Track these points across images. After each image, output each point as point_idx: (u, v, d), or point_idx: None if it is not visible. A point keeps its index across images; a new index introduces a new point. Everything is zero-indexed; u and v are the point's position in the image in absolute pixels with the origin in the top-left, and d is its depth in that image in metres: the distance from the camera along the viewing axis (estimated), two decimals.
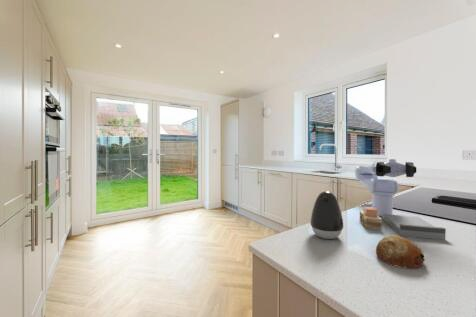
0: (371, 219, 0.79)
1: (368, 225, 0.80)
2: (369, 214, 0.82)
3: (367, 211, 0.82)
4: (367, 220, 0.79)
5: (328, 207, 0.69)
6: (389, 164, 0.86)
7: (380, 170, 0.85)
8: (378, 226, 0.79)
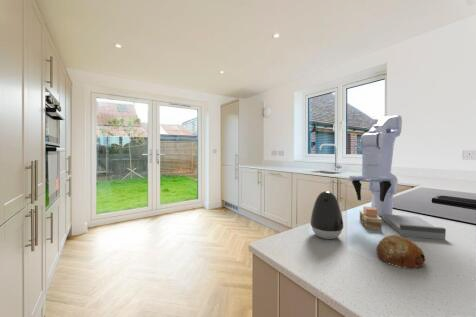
0: (371, 219, 0.79)
1: (368, 225, 0.80)
2: (369, 214, 0.82)
3: (367, 211, 0.82)
4: (367, 220, 0.79)
5: (328, 207, 0.69)
6: None
7: None
8: (378, 226, 0.79)
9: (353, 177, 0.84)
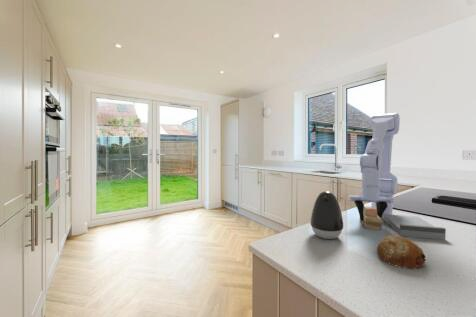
0: (371, 219, 0.79)
1: (368, 225, 0.80)
2: (369, 214, 0.82)
3: (367, 211, 0.82)
4: (367, 220, 0.79)
5: (328, 207, 0.69)
6: None
7: None
8: (378, 226, 0.79)
9: (353, 197, 0.84)
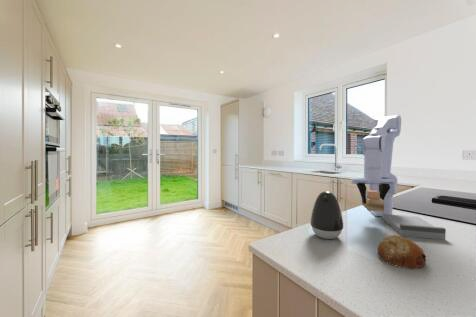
0: (374, 201, 0.78)
1: (371, 207, 0.79)
2: (371, 197, 0.81)
3: (369, 194, 0.81)
4: (370, 202, 0.79)
5: (328, 207, 0.69)
6: None
7: None
8: (381, 208, 0.78)
9: (355, 180, 0.83)
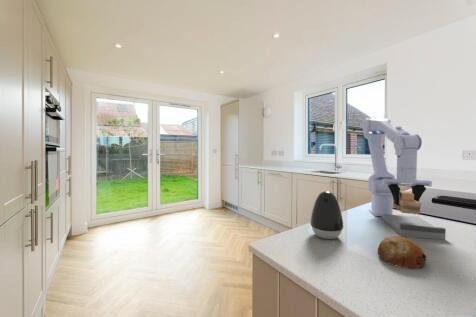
0: (409, 203, 0.75)
1: (405, 209, 0.76)
2: (405, 198, 0.78)
3: (403, 195, 0.78)
4: (405, 204, 0.76)
5: (328, 207, 0.69)
6: None
7: None
8: (417, 211, 0.75)
9: (387, 181, 0.80)
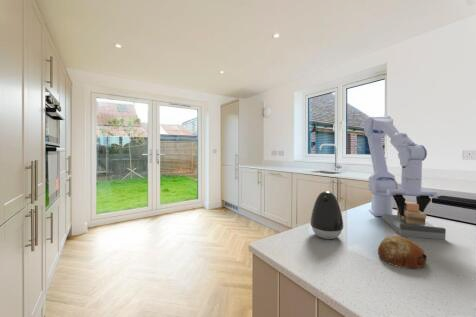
0: (414, 214, 0.75)
1: (411, 220, 0.76)
2: (410, 209, 0.78)
3: (408, 206, 0.78)
4: (410, 215, 0.75)
5: (328, 207, 0.69)
6: None
7: None
8: (422, 222, 0.75)
9: (392, 191, 0.80)
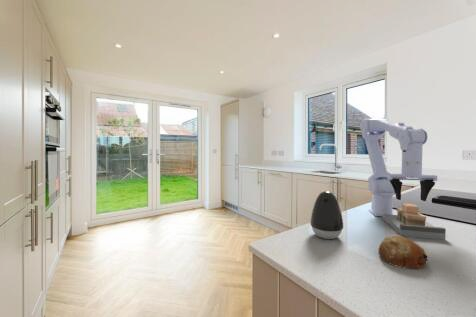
0: (414, 216, 0.75)
1: (410, 223, 0.76)
2: (410, 211, 0.78)
3: (407, 208, 0.78)
4: (410, 217, 0.75)
5: (328, 207, 0.69)
6: None
7: None
8: (422, 224, 0.75)
9: (392, 175, 0.80)
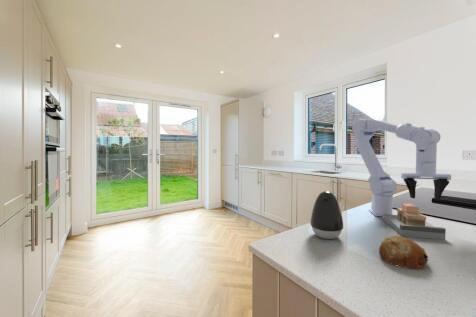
0: (414, 216, 0.75)
1: (410, 223, 0.76)
2: (410, 211, 0.78)
3: (407, 208, 0.78)
4: (410, 217, 0.75)
5: (328, 207, 0.69)
6: None
7: None
8: (422, 224, 0.75)
9: (407, 174, 0.82)
